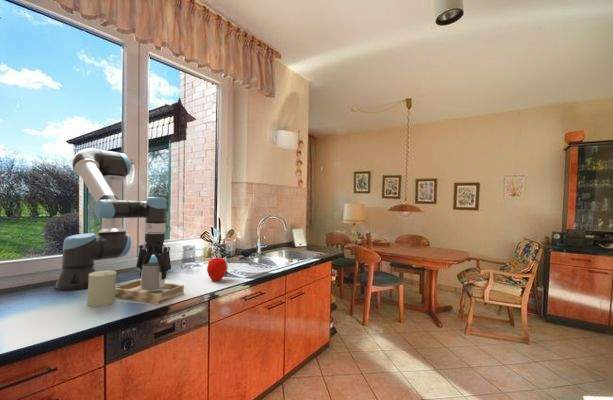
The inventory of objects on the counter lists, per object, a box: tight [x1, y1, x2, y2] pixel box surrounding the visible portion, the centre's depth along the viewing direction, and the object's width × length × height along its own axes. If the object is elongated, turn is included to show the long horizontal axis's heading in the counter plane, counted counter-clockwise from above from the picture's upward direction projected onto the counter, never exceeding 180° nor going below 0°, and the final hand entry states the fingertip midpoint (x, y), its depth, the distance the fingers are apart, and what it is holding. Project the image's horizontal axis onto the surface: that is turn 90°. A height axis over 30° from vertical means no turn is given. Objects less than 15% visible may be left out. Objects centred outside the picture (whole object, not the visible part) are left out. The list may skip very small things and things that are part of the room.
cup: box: [141, 262, 164, 290], centre depth 124 cm, size 8×8×10 cm
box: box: [115, 278, 185, 305], centre depth 124 cm, size 24×15×4 cm, turn 76°
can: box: [86, 269, 117, 308], centre depth 113 cm, size 9×9×12 cm
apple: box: [206, 257, 228, 282], centre depth 151 cm, size 10×10×12 cm
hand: (152, 285), depth 124 cm, fingers closed on cup, 8 cm apart
